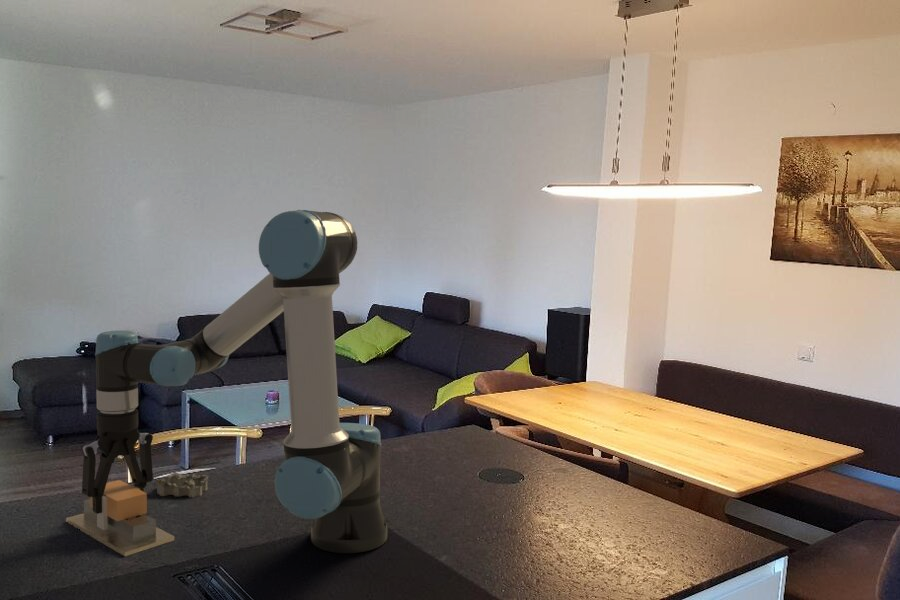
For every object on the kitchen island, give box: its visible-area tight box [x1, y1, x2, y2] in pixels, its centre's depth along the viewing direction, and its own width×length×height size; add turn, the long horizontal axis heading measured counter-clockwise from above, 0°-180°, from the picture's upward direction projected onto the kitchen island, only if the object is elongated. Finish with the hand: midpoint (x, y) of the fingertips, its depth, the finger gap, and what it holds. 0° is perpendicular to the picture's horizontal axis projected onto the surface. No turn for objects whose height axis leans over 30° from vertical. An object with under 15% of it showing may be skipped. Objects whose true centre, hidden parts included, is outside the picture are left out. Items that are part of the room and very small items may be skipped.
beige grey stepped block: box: [65, 498, 175, 557], centre depth 149 cm, size 24×10×4 cm, turn 51°
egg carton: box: [155, 472, 210, 498], centre depth 172 cm, size 11×8×4 cm
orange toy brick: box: [89, 479, 148, 521], centre depth 149 cm, size 11×6×7 cm, turn 51°
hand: (118, 522), depth 149 cm, fingers closed on orange toy brick, 6 cm apart
